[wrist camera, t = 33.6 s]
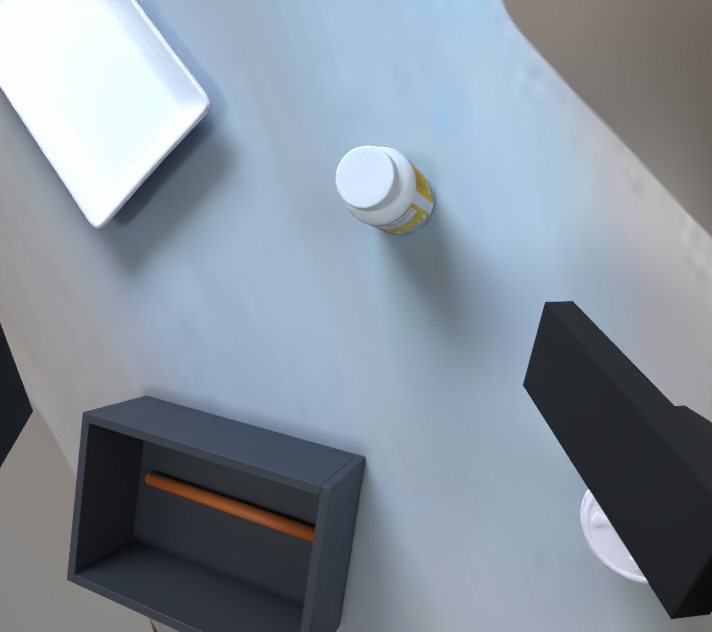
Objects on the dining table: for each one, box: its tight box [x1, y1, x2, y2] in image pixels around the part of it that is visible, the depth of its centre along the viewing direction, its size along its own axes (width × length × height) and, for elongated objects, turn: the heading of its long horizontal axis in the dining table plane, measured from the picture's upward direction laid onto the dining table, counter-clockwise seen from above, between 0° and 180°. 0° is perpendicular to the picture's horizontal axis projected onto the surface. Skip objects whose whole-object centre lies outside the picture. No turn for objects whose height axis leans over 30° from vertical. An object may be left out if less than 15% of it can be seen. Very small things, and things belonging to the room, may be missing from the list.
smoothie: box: [580, 488, 649, 584], centre depth 31 cm, size 6×6×14 cm
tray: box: [0, 0, 211, 229], centre depth 51 cm, size 17×32×4 cm, turn 39°
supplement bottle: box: [336, 146, 434, 235], centre depth 38 cm, size 5×5×10 cm
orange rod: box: [145, 472, 315, 542], centre depth 48 cm, size 20×1×1 cm, turn 82°
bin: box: [67, 396, 365, 632], centre depth 45 cm, size 24×16×8 cm, turn 82°
